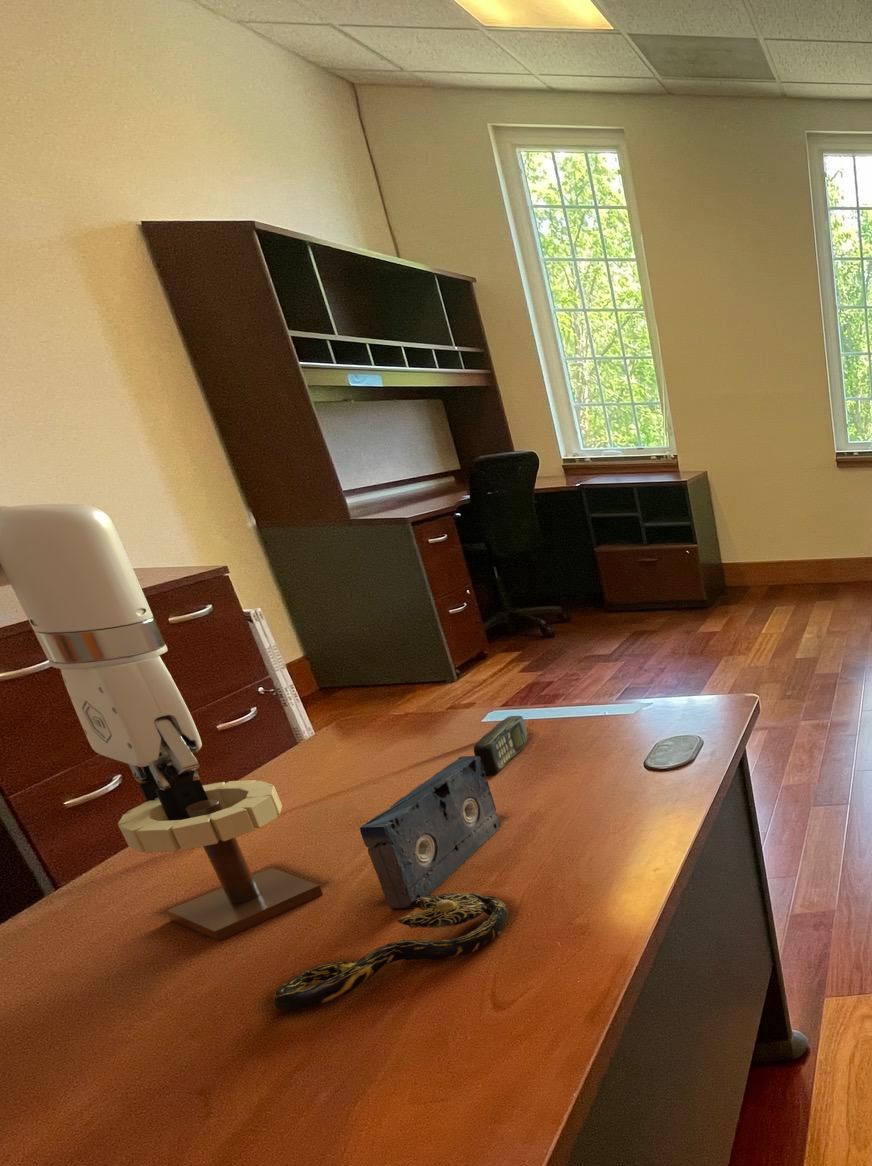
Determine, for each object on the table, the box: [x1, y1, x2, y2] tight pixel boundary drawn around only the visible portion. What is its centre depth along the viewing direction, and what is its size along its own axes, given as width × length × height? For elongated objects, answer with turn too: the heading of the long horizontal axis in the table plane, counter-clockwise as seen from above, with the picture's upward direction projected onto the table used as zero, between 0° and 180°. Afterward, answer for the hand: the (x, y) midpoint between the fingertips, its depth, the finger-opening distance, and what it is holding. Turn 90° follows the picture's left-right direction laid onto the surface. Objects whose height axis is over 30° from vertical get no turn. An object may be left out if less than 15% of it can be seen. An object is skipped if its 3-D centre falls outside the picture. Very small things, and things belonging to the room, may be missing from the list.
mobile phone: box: [473, 715, 528, 776], centre depth 119 cm, size 5×3×15 cm
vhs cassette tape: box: [359, 755, 502, 910], centre depth 89 cm, size 18×3×10 cm, turn 4°
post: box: [166, 800, 324, 942], centre depth 81 cm, size 9×9×12 cm
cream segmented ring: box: [117, 779, 283, 854], centre depth 79 cm, size 11×11×2 cm
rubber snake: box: [273, 892, 509, 1011], centre depth 75 cm, size 18×5×10 cm
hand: (184, 815), depth 81 cm, fingers closed on cream segmented ring, 2 cm apart
